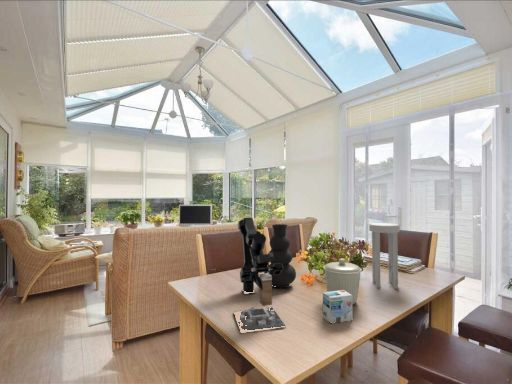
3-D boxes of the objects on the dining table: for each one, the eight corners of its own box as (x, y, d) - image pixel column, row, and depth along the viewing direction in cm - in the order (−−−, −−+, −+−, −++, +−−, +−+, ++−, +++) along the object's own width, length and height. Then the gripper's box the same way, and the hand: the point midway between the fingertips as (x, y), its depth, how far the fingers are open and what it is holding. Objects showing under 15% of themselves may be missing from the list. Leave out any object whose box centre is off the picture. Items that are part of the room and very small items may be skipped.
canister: (345, 292, 145) (344, 253, 145) (370, 305, 128) (370, 260, 128) (316, 297, 138) (315, 256, 138) (339, 312, 121) (338, 264, 121)
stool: (372, 288, 151) (372, 225, 152) (368, 279, 166) (367, 222, 167) (403, 290, 148) (402, 226, 148) (395, 281, 163) (395, 223, 163)
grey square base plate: (233, 313, 120) (233, 305, 120) (272, 309, 124) (272, 301, 124) (240, 333, 103) (240, 324, 103) (285, 328, 107) (285, 319, 107)
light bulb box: (330, 324, 110) (330, 297, 110) (322, 317, 116) (321, 291, 116) (353, 320, 113) (353, 294, 113) (344, 314, 119) (343, 289, 119)
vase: (302, 288, 152) (301, 225, 152) (272, 293, 145) (271, 227, 145) (286, 279, 169) (286, 222, 169) (259, 282, 162) (258, 224, 162)
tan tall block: (259, 302, 115) (259, 274, 115) (268, 301, 117) (268, 273, 117) (262, 306, 112) (262, 276, 112) (272, 304, 113) (271, 275, 113)
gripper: (241, 247, 115) (249, 281, 105) (281, 244, 121) (293, 276, 110) (236, 261, 122) (243, 295, 112) (275, 258, 128) (285, 289, 118)
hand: (266, 288), depth 113 cm, fingers closed on tan tall block, 4 cm apart
